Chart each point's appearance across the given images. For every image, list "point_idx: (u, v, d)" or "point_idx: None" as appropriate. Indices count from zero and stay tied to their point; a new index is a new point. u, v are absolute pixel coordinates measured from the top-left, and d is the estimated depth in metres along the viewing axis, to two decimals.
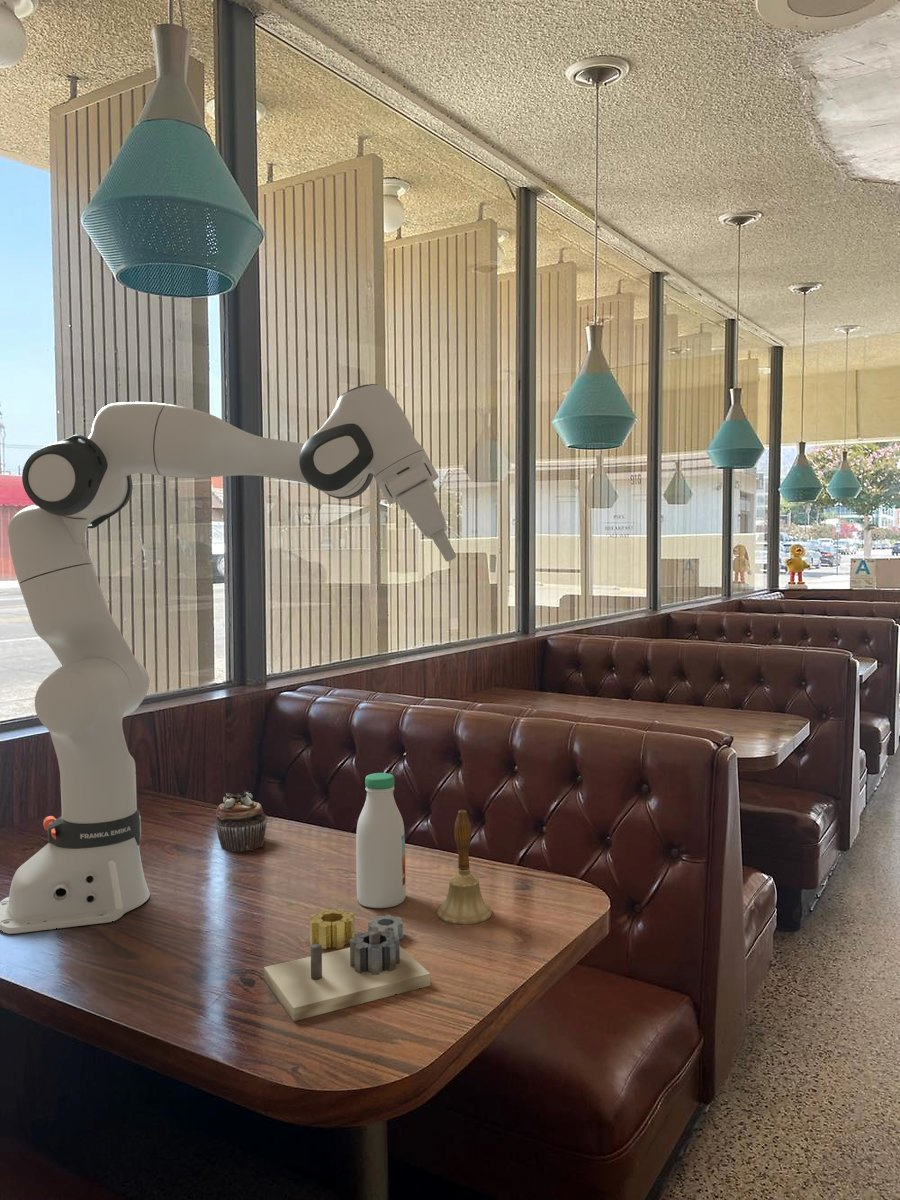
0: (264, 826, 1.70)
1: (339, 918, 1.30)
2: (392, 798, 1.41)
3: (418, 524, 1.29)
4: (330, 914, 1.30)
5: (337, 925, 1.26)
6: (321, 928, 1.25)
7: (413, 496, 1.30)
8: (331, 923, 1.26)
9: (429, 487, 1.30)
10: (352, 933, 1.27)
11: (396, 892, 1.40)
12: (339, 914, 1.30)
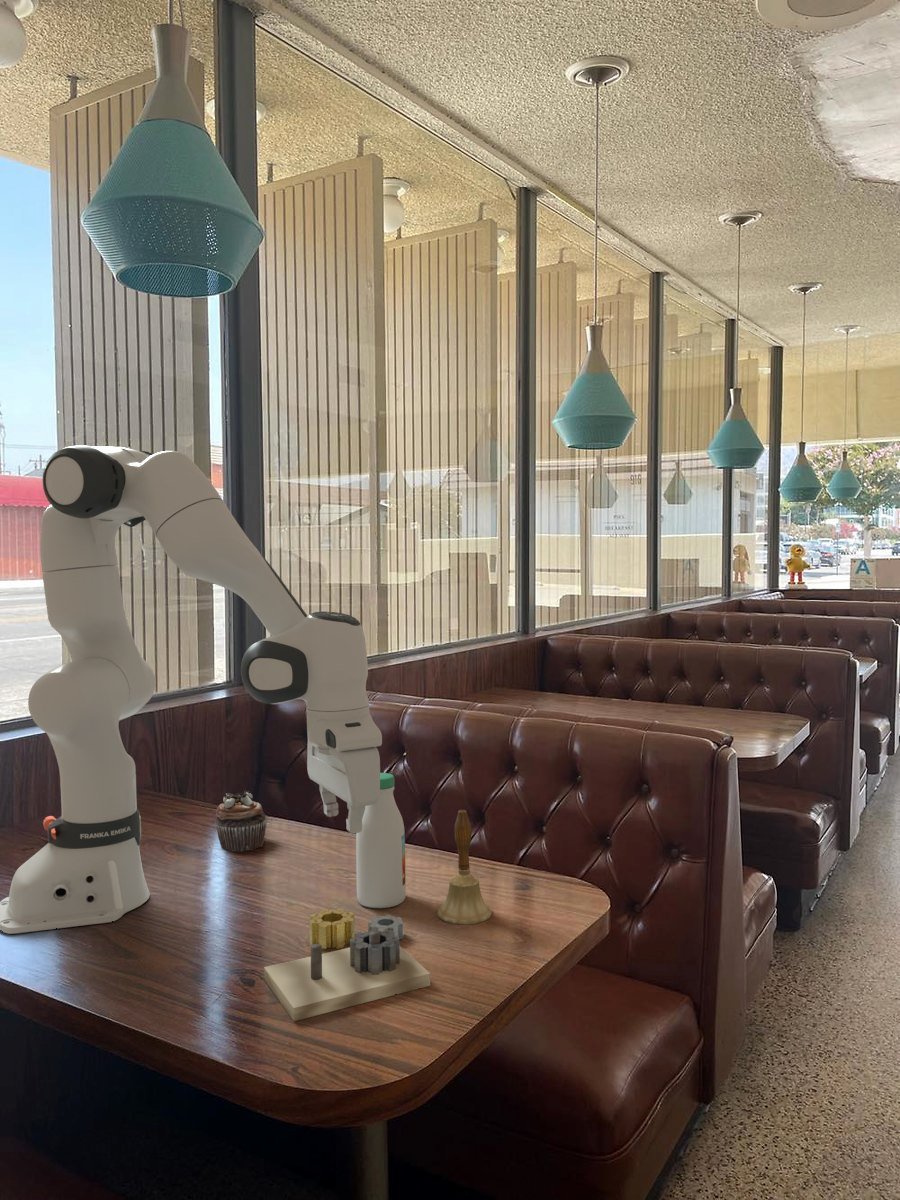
0: (264, 826, 1.70)
1: (339, 918, 1.30)
2: (392, 798, 1.41)
3: (354, 793, 1.18)
4: (330, 914, 1.30)
5: (337, 925, 1.26)
6: (321, 928, 1.25)
7: (360, 761, 1.19)
8: (331, 923, 1.26)
9: (378, 758, 1.20)
10: (352, 933, 1.27)
11: (396, 892, 1.40)
12: (339, 914, 1.30)
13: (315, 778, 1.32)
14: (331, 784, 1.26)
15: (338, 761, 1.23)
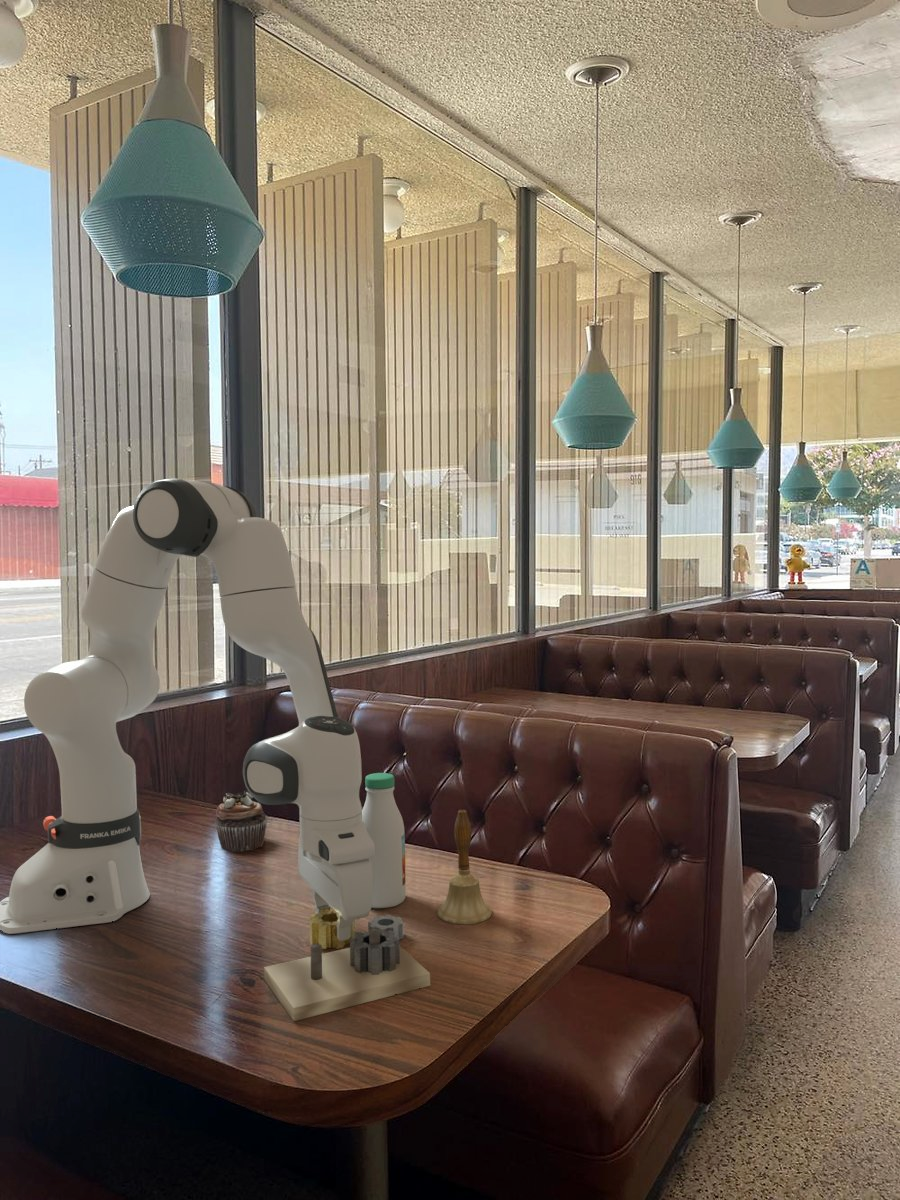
0: (264, 826, 1.70)
1: None
2: (392, 798, 1.41)
3: (346, 907, 1.18)
4: (330, 914, 1.30)
5: None
6: (321, 928, 1.25)
7: (352, 875, 1.19)
8: (331, 923, 1.26)
9: (371, 871, 1.21)
10: (352, 933, 1.27)
11: (396, 892, 1.40)
12: None
13: (306, 879, 1.32)
14: (322, 891, 1.26)
15: (330, 870, 1.24)
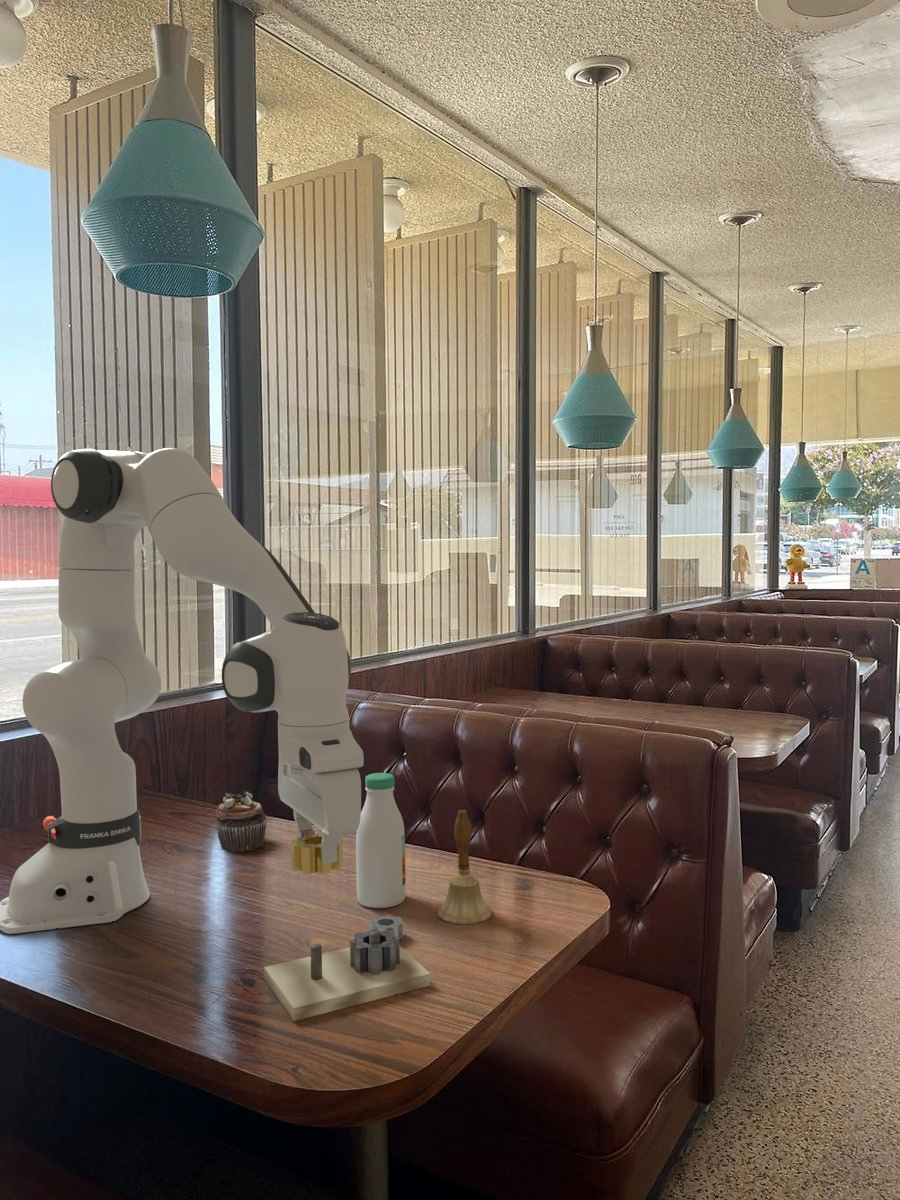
0: (264, 826, 1.70)
1: None
2: (392, 798, 1.41)
3: (331, 821, 1.03)
4: (315, 837, 1.14)
5: None
6: (304, 850, 1.10)
7: (338, 784, 1.04)
8: (315, 845, 1.11)
9: (359, 781, 1.05)
10: (340, 857, 1.12)
11: (396, 892, 1.40)
12: None
13: (287, 800, 1.17)
14: (305, 809, 1.11)
15: (313, 783, 1.09)
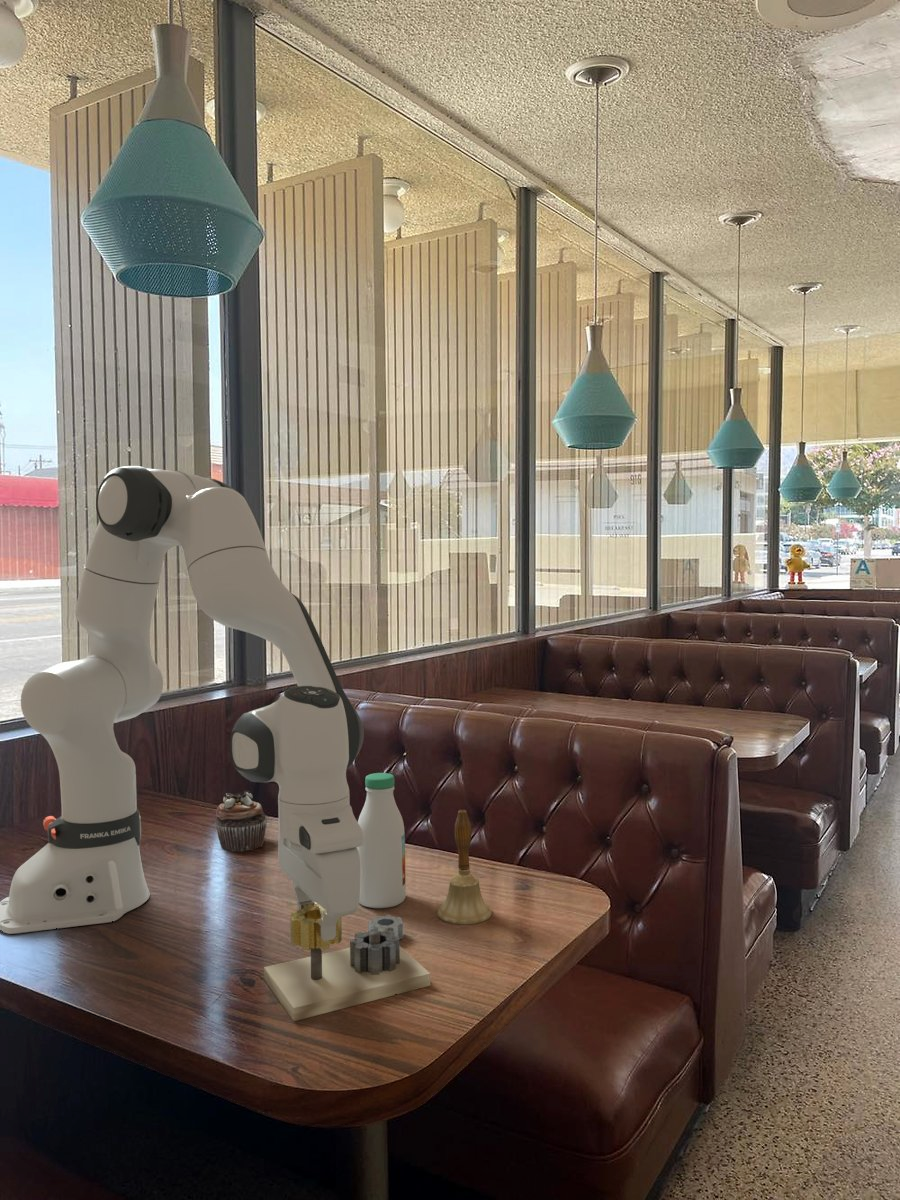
0: (264, 826, 1.70)
1: None
2: (392, 798, 1.41)
3: (330, 902, 1.03)
4: (314, 910, 1.15)
5: None
6: (303, 926, 1.10)
7: (338, 865, 1.04)
8: (315, 920, 1.11)
9: (359, 861, 1.06)
10: (339, 932, 1.12)
11: (396, 892, 1.40)
12: None
13: (287, 871, 1.17)
14: (304, 884, 1.11)
15: (313, 860, 1.09)
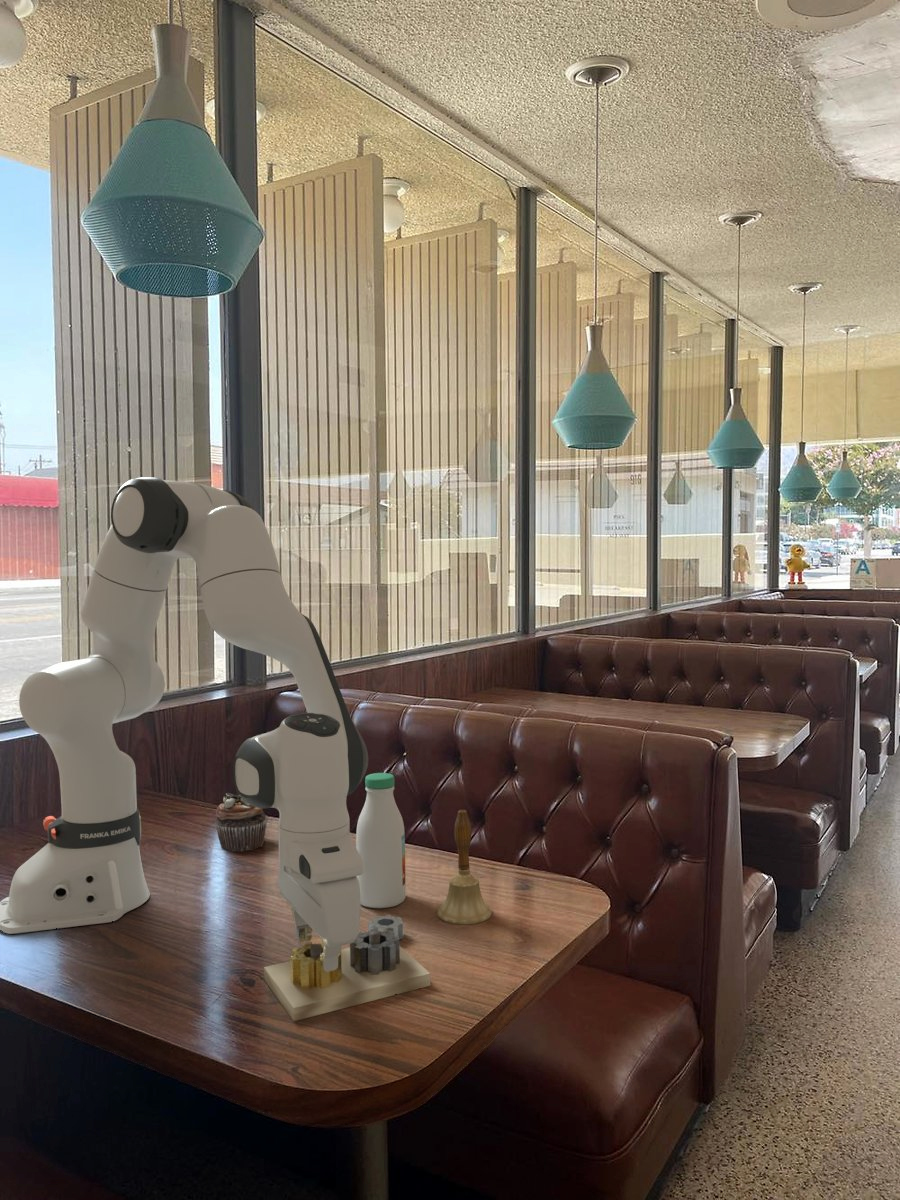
0: (264, 826, 1.70)
1: None
2: (392, 798, 1.41)
3: (330, 932, 1.04)
4: None
5: None
6: (303, 965, 1.10)
7: (337, 895, 1.04)
8: (315, 959, 1.11)
9: (359, 890, 1.06)
10: (339, 970, 1.12)
11: (396, 892, 1.40)
12: None
13: (287, 897, 1.17)
14: (304, 912, 1.11)
15: (313, 889, 1.09)
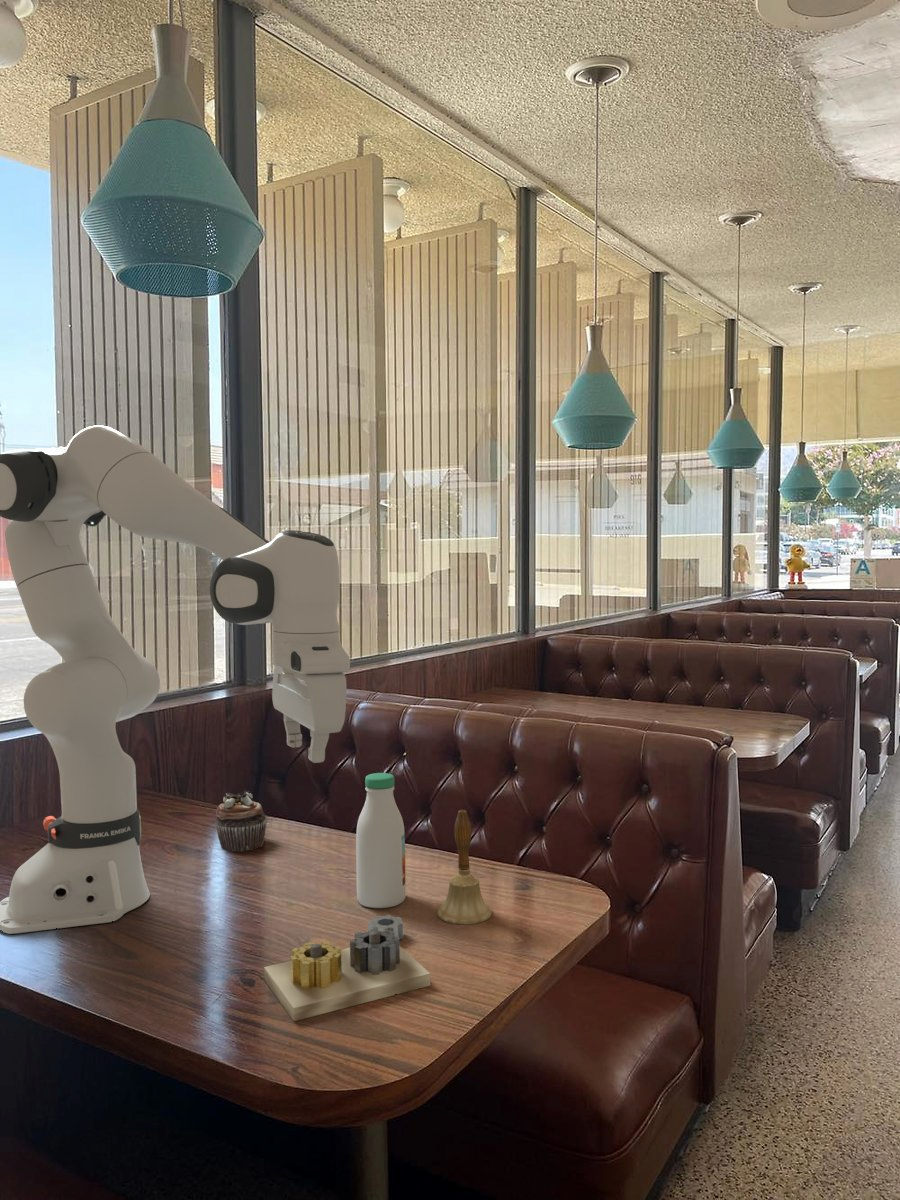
0: (264, 826, 1.70)
1: (324, 953, 1.15)
2: (392, 798, 1.41)
3: (317, 718, 1.12)
4: None
5: (321, 962, 1.11)
6: (303, 965, 1.10)
7: (325, 685, 1.13)
8: (315, 959, 1.11)
9: (345, 684, 1.14)
10: (339, 970, 1.12)
11: (396, 892, 1.40)
12: (324, 948, 1.15)
13: (279, 706, 1.26)
14: (295, 712, 1.20)
15: (303, 686, 1.17)
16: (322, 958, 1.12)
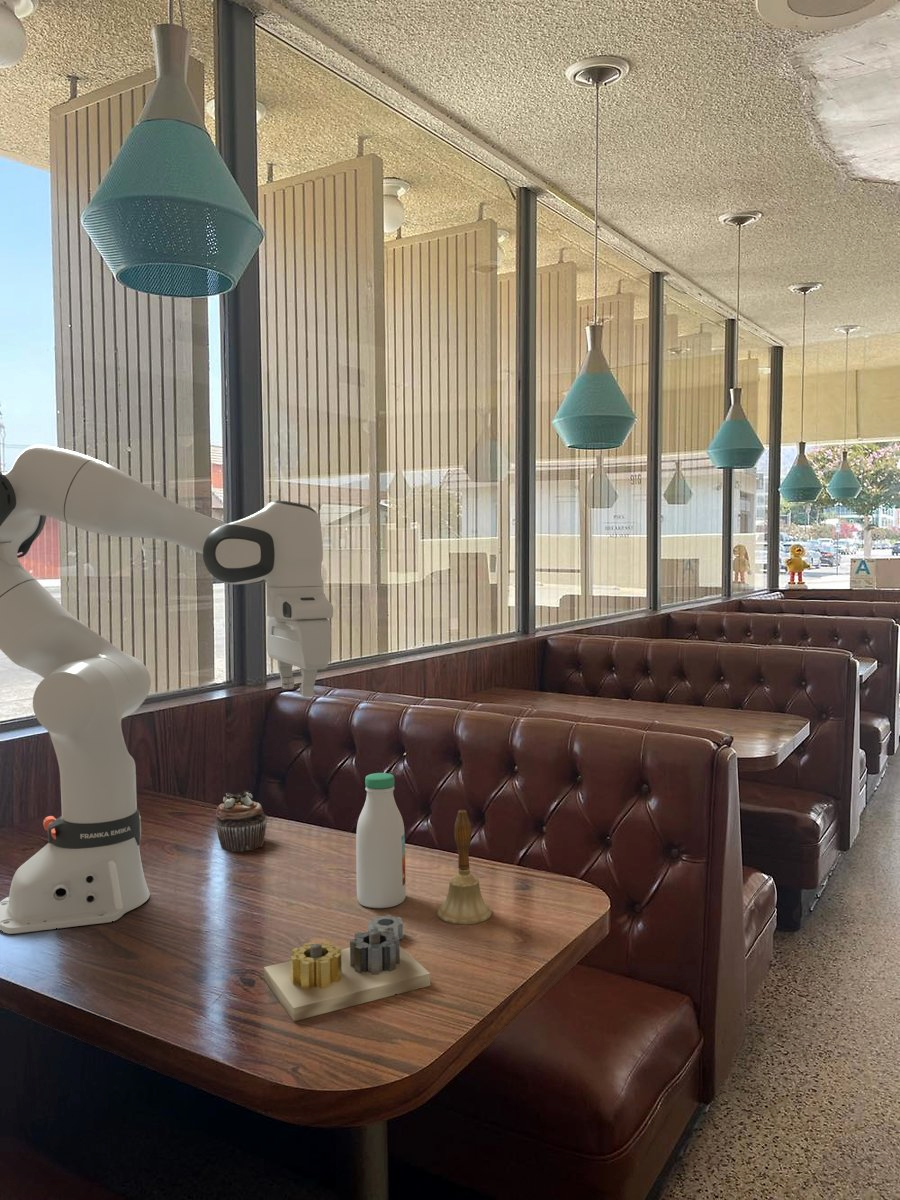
0: (264, 826, 1.70)
1: (324, 953, 1.15)
2: (392, 798, 1.41)
3: (306, 656, 1.32)
4: None
5: (321, 962, 1.11)
6: (303, 965, 1.10)
7: (312, 628, 1.33)
8: (315, 959, 1.11)
9: (329, 628, 1.34)
10: (339, 970, 1.12)
11: (396, 892, 1.40)
12: (324, 948, 1.15)
13: (274, 654, 1.46)
14: (287, 655, 1.40)
15: (294, 632, 1.38)
16: (322, 958, 1.12)
